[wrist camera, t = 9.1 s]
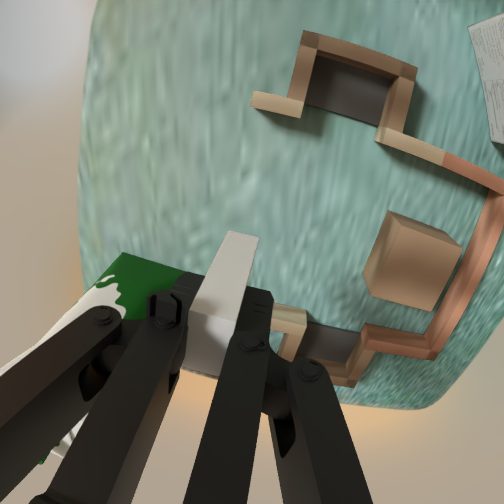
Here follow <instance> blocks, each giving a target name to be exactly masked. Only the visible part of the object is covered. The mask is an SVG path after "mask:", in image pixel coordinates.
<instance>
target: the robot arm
mask: <svg viewBox="0 0 504 504" xmlns="http://www.w3.org/2000/svg"><path fill="white" fill-rule="evenodd" d="M258 239H259V237H255V236H251V235H246V234H242V233H238V232H234V231H230V230H229V231H228V233H227V235H226V237H225V239H224V241H223V242H222V244H221V246H220V248H219V250H218V252H217V254H216V256H215V258H214V260H213V262H212V264H211V266H210V268H209V270H208V272H207V274H206V276H203V275H199V274H195V273H191V272H185V273H183V274H182V275H180V276H178V278H177V279H176V281H175V283H174V285H173V286H172V287H171V289H170V290H157V291H154V292H151V293H150V294H149V295H148V296H147V299H146V317H145V319H140V320H132V319H122V316H121V314H120V312H119V311H118V310H117V309H115V308H113V307H110V306H105V305H100V306H94V307H92V308H90V309H88V310H87V311H86V312H84V313H83V314H81V315H80V316H79V317H77V318H76V319H75V320H73V321H72V322H70V323H69V324H68V325H66V326H65V327H64V328H62V329H61V330H60V331H58V332H57V333H56V334H54V335H53V336H52V337H50V338H49V339H48V340H46V341H45V342H44V343H42V344H41V345H40V346H38V347H37V348H36V349H34V350H33V351H32V352H30V353H29V354H28V355H27V356H25V357H24V358H23V359H21V360H20V361H19V362H18V363H16V364H15V365H14V366H12V367H11V368H10V369H9V370H7V371H6V372H5V373H4V374H2V375H1V376H0V502H1V501H2V500H3V499H4V498H5V497H6V496H7V495H8V494H9V493H10V492H11V491H12V490H13V489H14V488H15V487H16V486H17V485H18V484H19V483H20V482H21V481H22V480H23V479H24V478H25V477H26V476H27V475H28V473H30V471H31V470H32V469H33V468H34V467H35V466H36V465H37V464H38V463H39V462H40V461H41V460H42V459H43V458H44V457H45V456H46V455H47V454H48V453H49V452H50V451H51V450H52V449H53V448H54V447H55V446H56V445H57V444H58V443H59V442H60V441H61V440H62V439H63V438H64V437H65V436H66V435H67V434H68V433H69V432H70V431H71V430H72V429H73V428H74V427H75V426H76V425H77V424H78V423H79V422H80V421H81V419H82V418H83V417H84V416H85V415H86V414H87V413H88V412H89V413H88V415H87V416H86V418H85V420H84V422H83V423H82V425H81V427H80V429H79V431H78V432H77V434H76V436H75V438H74V440H73V442H72V444H71V445H70V447H69V449H68V451H67V453H66V455H65V457H64V458H63V461H62V462H61V464H60V466H59V468H58V470H57V472H56V474H55V476H54V478H53V480H52V482H51V484H50V486H49V487H48V489H47V491H46V492H45V493H43V494H41V495H37V496H35V497H34V498H33V499H32V500H31V501H30V502H29V504H131V502H132V499H133V497H134V494H135V491H136V488H137V486H138V483H139V481H140V478H141V475H142V472H143V470H144V467H145V465H146V462H147V459H148V456H149V454H150V451H151V449H152V446H153V443H154V441H155V438H156V435H157V433H158V431H159V428H160V425H161V423H162V420H163V418H164V415H165V412H166V410H167V407H168V405H169V402H170V400H171V397H172V394H173V392H174V389H175V386H176V384H177V382H178V379H179V373H180V367H181V365H182V362H183V367H185V368H188V369H192V370H195V371H199V372H203V373H206V374H210V375H214V376H218V377H219V379H218V382H217V386H216V389H215V393H214V397H213V400H212V403H211V407H210V410H209V414H208V417H207V421H206V424H205V428H204V431H203V435H202V438H201V442H200V445H199V449H198V452H197V456H196V460H195V463H194V467H193V470H192V473H191V477H190V480H189V484H188V487H187V491H186V494H185V498H184V501H183V504H247V499H248V493H249V487H250V481H251V474H252V469H253V462H254V456H255V449H256V443H257V437H258V430H259V423H260V417H261V412H262V413H265V414H266V415H268V419H269V425H270V431H271V437H272V442H273V448H274V453H275V459H276V465H277V471H278V476H279V482H280V487H281V493H282V498H283V503H284V504H373V502H372V499H371V495H370V492H369V489H368V486H367V483H366V480H365V477H364V474H363V471H362V468H361V465H360V462H359V459H358V456H357V453H356V450H355V447H354V444H353V442H352V438H351V436H350V433H349V430H348V427H347V424H346V421H345V419H344V415H343V412H342V410H341V407H340V404H339V401H338V398H337V395H336V393H335V390H334V387H333V384H332V381H331V379H330V376H329V373H328V371H327V370H326V368H325V367H324V366H323V365H322V364H321V363H320V362H318V361H316V360H314V359H310V358H305V357H304V358H297V359H295V360H294V361H292V362H290V361H288V360H285V359H283V358H282V357H280V356H278V355H277V354H276V353H275V352H274V351H273V350H272V349H271V347H270V344H269V335H270V327H271V319H272V312H273V304H274V299H273V297H272V294H271V292H270V291H266V290H262V289H258V288H254V287H250V286H247V285H248V281H249V277H250V273H251V269H252V265H253V260H254V256H255V252H256V248H257V244H258ZM183 360H184V361H183Z"/></svg>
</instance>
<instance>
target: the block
mask: <svg viewBox="0 0 504 504" xmlns="http://www.w3.org/2000/svg"><path fill="white" fill-rule="evenodd" d="M462 250H463V248H462V247H461V246H460V245H459V244H458V243H457V242H455V241H454V240H453V239H452V238H451V237H450V236H449V235H448V234H447V233H446V232H445V231H442V230H440V229H437V228H434V227H432V226H429V225H427V224H424V223H422V222H419V221H416V220H414V219H411V218H408V217H406V216H403V215H400V214H397V213H395V212H392V211H389V210H388V211H387V213H386V216H385V219H384V221H383V224H382V226H381V229H380V231H379V234H378V236H377V239H376V241H375V244H374V246H373V248H372V251H371V253H370V256H369V258H368V260H367V263H366V265H365V267H364V270H363V272H362V274H363V277H364V279H365V282H366V285H367V287H368V290H369V293H370V295H371V296H374V297H377V298H381V299H385V300H388V301H392V302H396V303H400V304H403V305H407V306H411V307H414V308H418V309H422V310H426V311H429V312H431V311H432V309H433V307H434V305H435V304H436V302H437V300H438V298H439V296H440V294H441V293H442V291H443V289H444V287H445V285H446V283H447V281H448V279H449V277H450V275H451V273H452V271H453V269H454V267H455V265H456V263H457V261H458V259H459V257H460V255H461V252H462Z"/></svg>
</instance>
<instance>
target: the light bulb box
mask: <svg viewBox="0 0 504 504" xmlns="http://www.w3.org/2000/svg"><path fill="white" fill-rule="evenodd" d="M468 30H469V33H470V37H471V40H472V44H473V47H474V51H475V55H476V59H477V63H478V67H479V71H480V76H481V81H482V86H483V91H484V96H485V101H486V108H487V114H488V121H489V128H490V136H491V141H492V142H496V143H501V144H504V13H501V14H498V15H496V16H493V17H491V18H488V19H486V20H483V21H480V22H478V23H475V24H473V25H470V26H468Z"/></svg>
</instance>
